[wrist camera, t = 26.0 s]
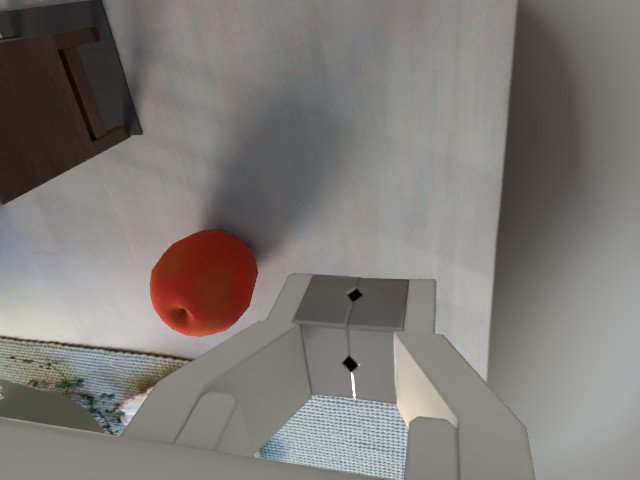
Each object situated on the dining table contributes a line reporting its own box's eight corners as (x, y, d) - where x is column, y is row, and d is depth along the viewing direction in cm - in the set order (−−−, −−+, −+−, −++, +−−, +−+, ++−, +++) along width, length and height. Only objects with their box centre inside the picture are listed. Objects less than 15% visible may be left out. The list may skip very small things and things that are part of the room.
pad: (100, -1, 39) (100, -1, 39) (142, 134, 45) (141, 134, 45) (-8, 13, 42) (-8, 13, 42) (45, 138, 48) (44, 138, 48)
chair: (99, 26, 40) (-74, 54, 27) (134, 135, 45) (3, 205, 32) (11, 36, 43) (-187, 66, 29) (53, 138, 48) (-100, 204, 34)
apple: (216, 196, 47) (156, 255, 37) (288, 259, 48) (248, 331, 39) (170, 249, 52) (107, 313, 42) (236, 304, 54) (191, 377, 44)
